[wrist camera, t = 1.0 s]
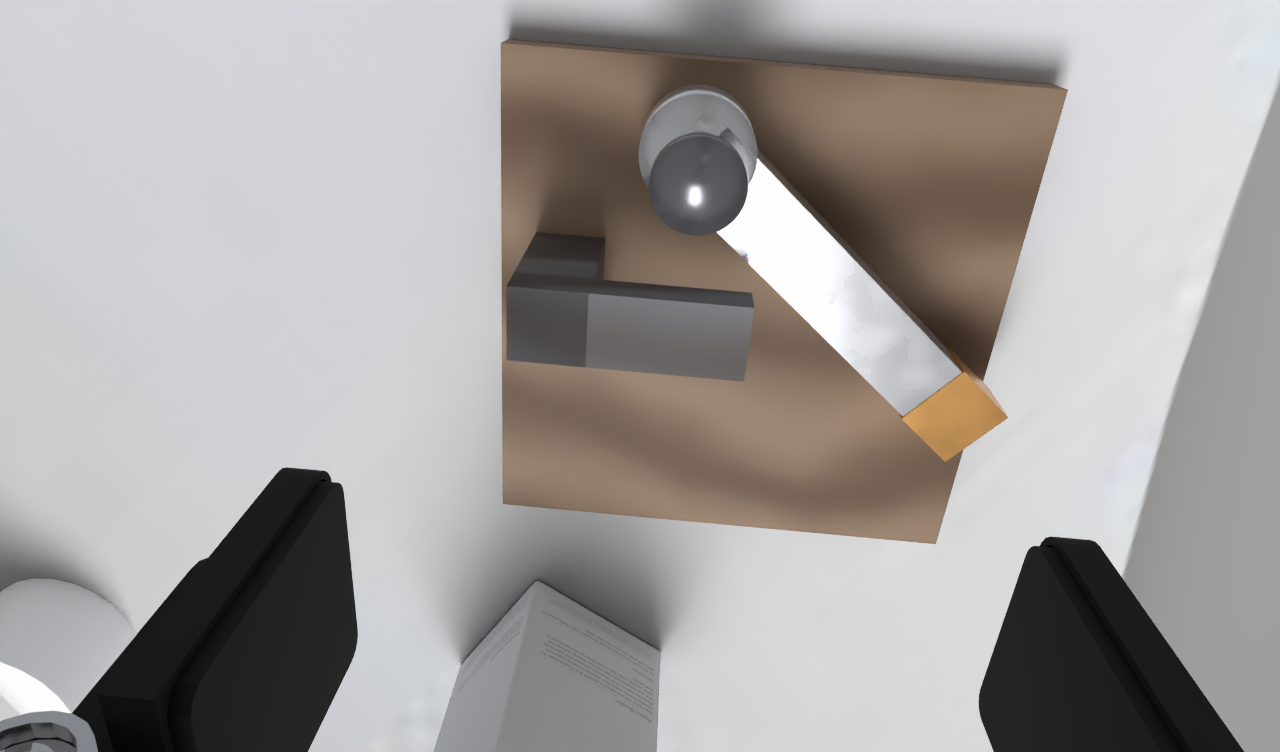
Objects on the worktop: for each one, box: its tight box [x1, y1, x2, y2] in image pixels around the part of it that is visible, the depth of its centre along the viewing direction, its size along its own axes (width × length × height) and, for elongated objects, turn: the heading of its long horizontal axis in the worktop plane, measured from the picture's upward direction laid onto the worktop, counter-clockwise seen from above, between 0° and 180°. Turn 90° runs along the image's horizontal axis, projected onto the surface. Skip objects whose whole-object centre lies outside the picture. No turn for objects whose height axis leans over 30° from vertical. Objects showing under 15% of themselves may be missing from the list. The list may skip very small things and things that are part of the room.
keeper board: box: [501, 39, 1068, 544], centre depth 36 cm, size 22×22×8 cm
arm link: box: [639, 84, 1008, 462], centre depth 33 cm, size 19×4×8 cm, turn 46°
